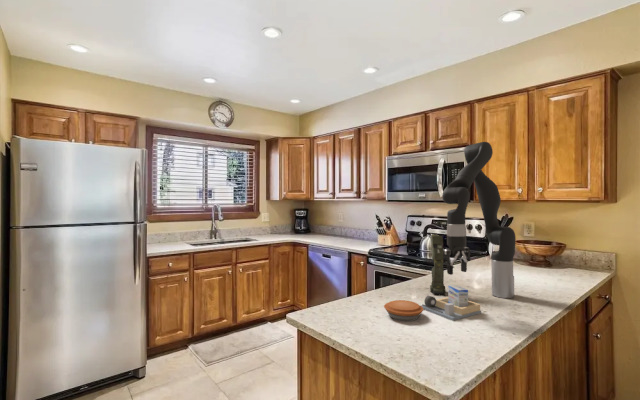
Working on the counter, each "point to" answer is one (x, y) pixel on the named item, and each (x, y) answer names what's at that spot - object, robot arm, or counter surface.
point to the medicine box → (457, 296)
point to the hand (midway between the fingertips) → (457, 273)
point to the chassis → (453, 309)
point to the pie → (403, 310)
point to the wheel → (430, 301)
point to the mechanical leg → (437, 266)
